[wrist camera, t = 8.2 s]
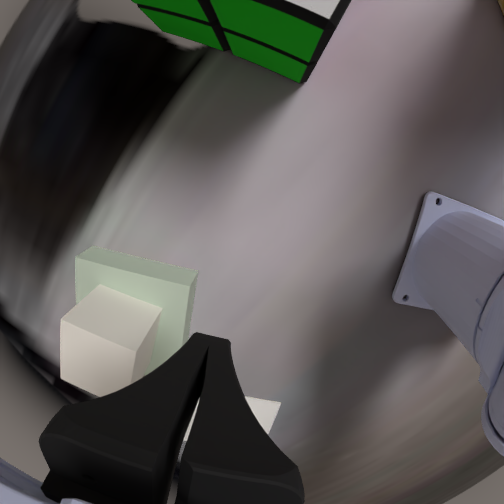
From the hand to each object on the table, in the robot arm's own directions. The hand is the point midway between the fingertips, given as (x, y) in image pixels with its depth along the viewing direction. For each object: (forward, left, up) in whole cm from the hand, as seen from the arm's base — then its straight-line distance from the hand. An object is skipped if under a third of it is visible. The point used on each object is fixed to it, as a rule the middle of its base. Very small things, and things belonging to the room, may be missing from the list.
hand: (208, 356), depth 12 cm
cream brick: (+6, +5, -7) cm, 11 cm away
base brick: (+6, +5, -10) cm, 13 cm away
